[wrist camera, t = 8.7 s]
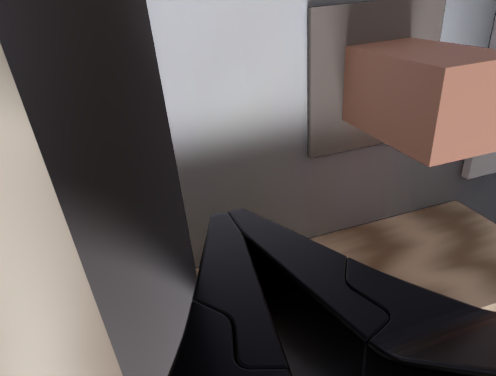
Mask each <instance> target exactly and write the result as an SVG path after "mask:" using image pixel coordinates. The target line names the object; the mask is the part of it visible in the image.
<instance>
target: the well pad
mask: <svg viewBox="0 0 496 376" xmlns="http://www.w3.org/2000/svg"><path fill="white" fill-rule="evenodd" d="M445 5H446V0H375V1H365V2H356V3H346V4H337V5H328V6H318V7H309V8H308V157H309V158H310V159H311V158H316V157H320V156H325V155H330V154H335V153H340V152H344V151H349V150H354V149H359V148H364V147H368V146H373V145H378V144H383V143H384V142H382V141H380V140H378V139H376V138H374V137H373V136H371V135H369V134H367V133H365V132H363V131H361V130H360V129H358V128H356V127H354V126H352V125H350V124H349V123H347V122H345V121H343V120H342V115H343V92H344V69H345V46H352V45H359V44H366V43H374V42H381V41H388V40H396V39H403V38H410V37H411V38H418V39H425V40H433V41H440V37H441V30H442V24H443V18H444V11H445Z"/></svg>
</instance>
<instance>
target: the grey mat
mask: <svg viewBox="0 0 496 376" xmlns="http://www.w3.org/2000/svg"><path fill="white" fill-rule="evenodd" d="M489 48H490V49H496V17H495V21H494V26H493V31H492V35H491V40H490V45H489ZM492 173H496V152H493V153H488V154H484V155H480V156H475V157H471V158H467V159H465V160H464V165H463V170H462V174H461V176H462V177H464V178H466V179H467V180H468V179H472V178H476V177H480V176H484V175H488V174H492Z"/></svg>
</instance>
